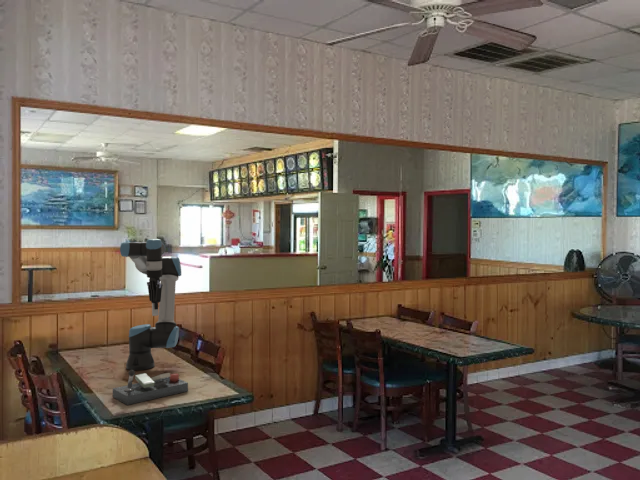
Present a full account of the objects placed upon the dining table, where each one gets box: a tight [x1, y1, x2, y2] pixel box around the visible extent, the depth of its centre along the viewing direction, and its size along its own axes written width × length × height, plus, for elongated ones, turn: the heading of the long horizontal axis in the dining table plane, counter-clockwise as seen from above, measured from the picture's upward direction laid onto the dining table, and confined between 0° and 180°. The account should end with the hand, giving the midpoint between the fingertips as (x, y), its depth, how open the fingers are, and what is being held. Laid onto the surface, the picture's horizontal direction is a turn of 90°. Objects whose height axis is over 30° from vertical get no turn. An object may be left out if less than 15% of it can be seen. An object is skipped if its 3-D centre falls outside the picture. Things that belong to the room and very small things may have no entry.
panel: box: [112, 377, 189, 406], centre depth 263 cm, size 16×30×5 cm, turn 132°
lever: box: [127, 370, 136, 389], centre depth 255 cm, size 3×3×10 cm
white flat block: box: [134, 372, 155, 388], centre depth 261 cm, size 10×5×2 cm, turn 43°
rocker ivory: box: [150, 372, 171, 381], centre depth 266 cm, size 10×5×2 cm, turn 42°
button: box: [169, 372, 180, 382], centre depth 271 cm, size 4×4×3 cm
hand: (155, 315), depth 285 cm, fingers closed
